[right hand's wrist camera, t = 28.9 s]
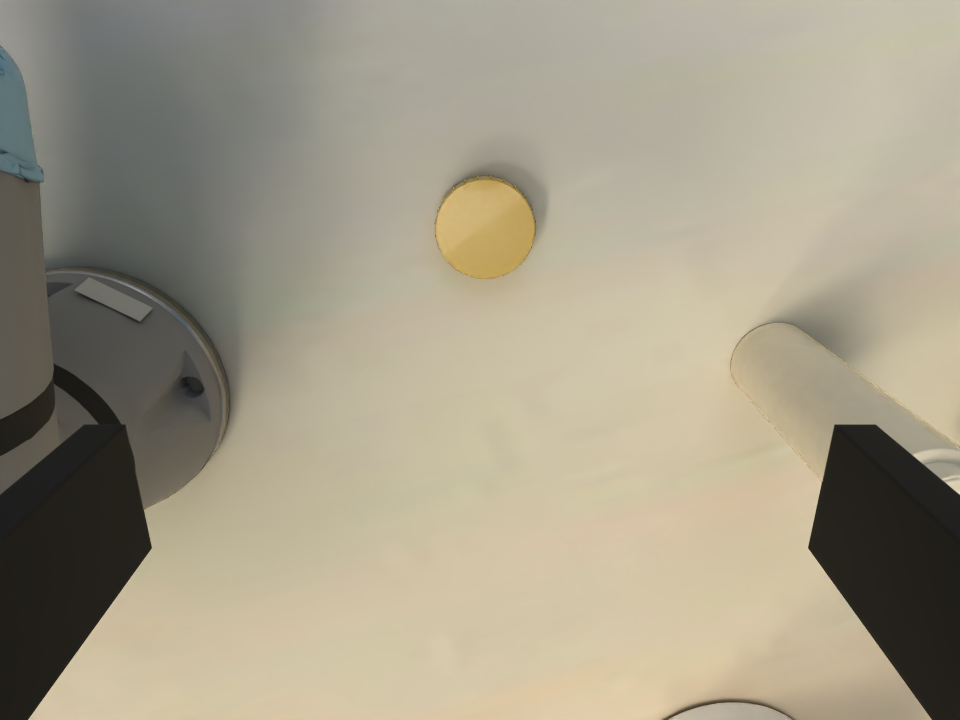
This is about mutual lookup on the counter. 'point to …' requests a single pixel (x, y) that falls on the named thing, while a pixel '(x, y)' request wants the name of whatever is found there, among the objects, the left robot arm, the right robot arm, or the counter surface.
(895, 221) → the counter surface
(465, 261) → the lid
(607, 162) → the counter surface
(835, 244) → the counter surface
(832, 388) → the jar
